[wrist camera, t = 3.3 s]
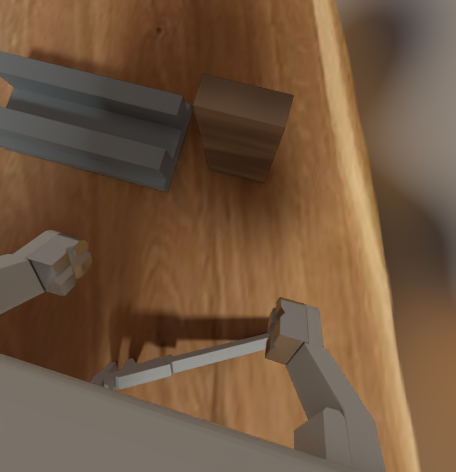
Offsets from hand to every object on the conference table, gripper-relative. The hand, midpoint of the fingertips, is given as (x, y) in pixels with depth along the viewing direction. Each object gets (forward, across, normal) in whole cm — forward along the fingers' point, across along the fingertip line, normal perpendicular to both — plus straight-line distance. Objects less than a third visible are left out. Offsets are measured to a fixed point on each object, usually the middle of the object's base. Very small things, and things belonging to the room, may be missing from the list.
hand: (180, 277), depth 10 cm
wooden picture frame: (+20, 0, +3) cm, 20 cm away
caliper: (+6, -2, +17) cm, 18 cm away
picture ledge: (+20, +17, +3) cm, 26 cm away
